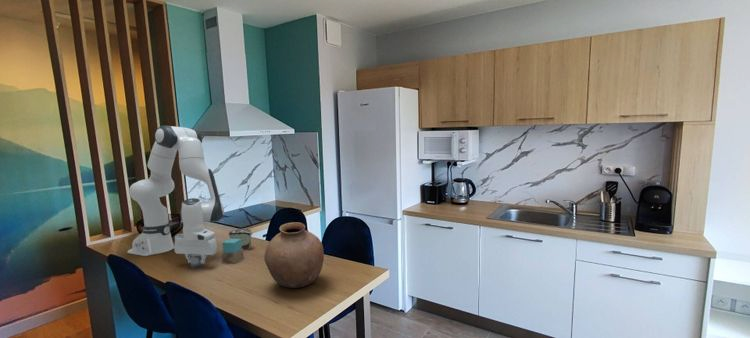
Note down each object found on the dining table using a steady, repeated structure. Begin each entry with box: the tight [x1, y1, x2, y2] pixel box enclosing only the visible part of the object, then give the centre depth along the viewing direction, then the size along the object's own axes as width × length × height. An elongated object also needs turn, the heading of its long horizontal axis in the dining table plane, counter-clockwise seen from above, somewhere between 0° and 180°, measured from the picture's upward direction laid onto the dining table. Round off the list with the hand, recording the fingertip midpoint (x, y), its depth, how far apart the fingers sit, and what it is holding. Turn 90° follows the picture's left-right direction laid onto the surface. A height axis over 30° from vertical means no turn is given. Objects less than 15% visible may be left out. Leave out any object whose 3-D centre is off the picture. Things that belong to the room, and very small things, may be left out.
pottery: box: [263, 221, 325, 289], centre depth 143 cm, size 23×23×25 cm
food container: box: [228, 228, 253, 251], centre depth 190 cm, size 12×6×10 cm, turn 84°
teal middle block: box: [222, 238, 242, 253], centre depth 172 cm, size 6×6×5 cm
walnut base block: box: [221, 249, 245, 265], centre depth 173 cm, size 7×7×5 cm
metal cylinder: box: [190, 254, 204, 269], centre depth 167 cm, size 5×5×5 cm
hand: (196, 262), depth 167 cm, fingers closed on metal cylinder, 5 cm apart
